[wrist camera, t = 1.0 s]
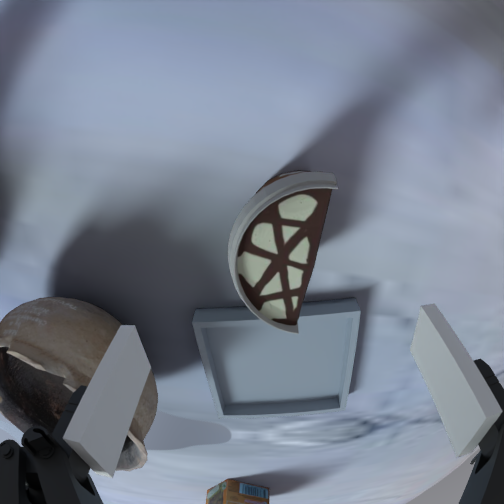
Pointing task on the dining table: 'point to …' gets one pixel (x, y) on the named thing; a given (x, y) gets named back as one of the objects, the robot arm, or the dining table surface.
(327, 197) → the food container
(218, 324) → the tray
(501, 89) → the dining table surface
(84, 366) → the ceramic bowl
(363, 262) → the dining table surface
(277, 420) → the dining table surface
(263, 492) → the milk carton
